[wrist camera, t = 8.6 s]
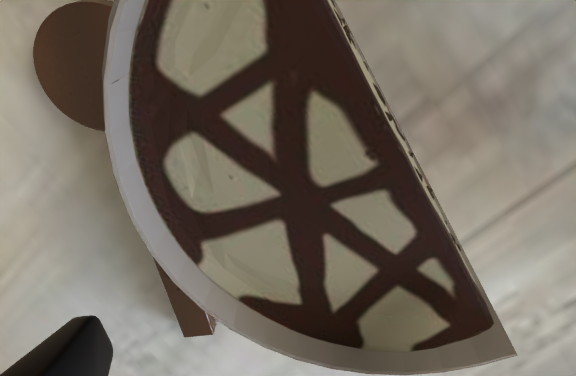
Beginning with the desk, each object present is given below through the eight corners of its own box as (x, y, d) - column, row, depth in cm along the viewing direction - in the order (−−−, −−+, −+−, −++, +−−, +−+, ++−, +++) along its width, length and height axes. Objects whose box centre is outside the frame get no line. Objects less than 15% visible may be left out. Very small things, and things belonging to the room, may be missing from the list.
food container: (126, -15, 16) (-94, 37, 7) (271, -124, 14) (218, -228, 5) (300, 233, 21) (297, 443, 12) (424, 174, 19) (525, 369, 10)
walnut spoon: (148, -13, 16) (138, -11, 15) (245, 320, 24) (243, 335, 23) (24, 10, 16) (8, 14, 16) (159, 329, 24) (153, 343, 23)
